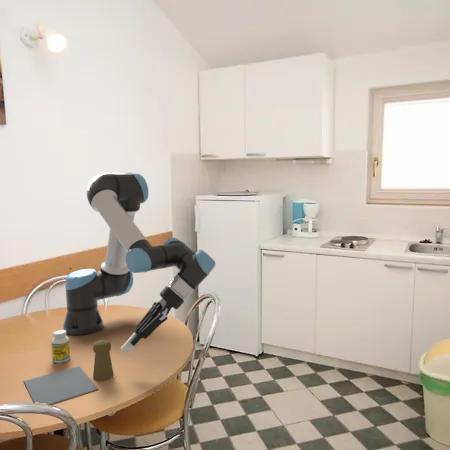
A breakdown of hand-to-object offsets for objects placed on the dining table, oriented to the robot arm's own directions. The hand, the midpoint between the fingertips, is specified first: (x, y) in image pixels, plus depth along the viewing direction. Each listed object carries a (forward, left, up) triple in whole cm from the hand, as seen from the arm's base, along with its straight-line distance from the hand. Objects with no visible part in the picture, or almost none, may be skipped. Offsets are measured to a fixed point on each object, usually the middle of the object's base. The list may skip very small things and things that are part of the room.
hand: (124, 351), depth 123 cm
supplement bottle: (-22, -13, -7) cm, 27 cm away
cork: (-2, -6, -7) cm, 10 cm away
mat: (-4, -18, -7) cm, 20 cm away
